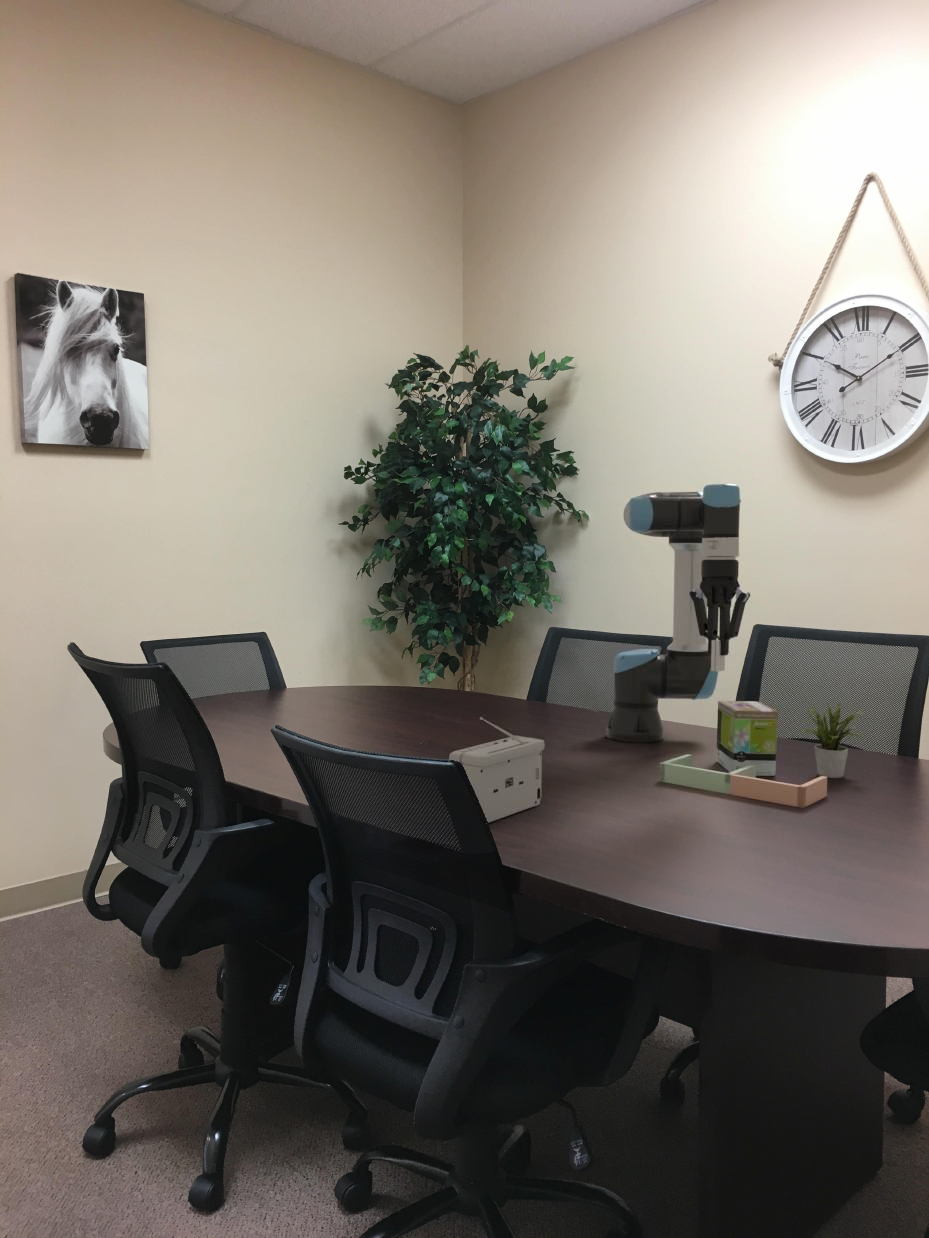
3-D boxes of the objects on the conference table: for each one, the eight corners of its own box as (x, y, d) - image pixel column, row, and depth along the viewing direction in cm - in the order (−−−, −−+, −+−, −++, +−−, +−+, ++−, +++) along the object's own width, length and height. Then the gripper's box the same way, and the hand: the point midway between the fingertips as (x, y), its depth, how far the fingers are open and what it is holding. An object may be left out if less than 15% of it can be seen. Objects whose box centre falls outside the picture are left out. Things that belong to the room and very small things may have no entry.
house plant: (874, 785, 201) (877, 709, 200) (806, 782, 204) (808, 707, 202) (860, 770, 215) (863, 699, 214) (796, 767, 218) (798, 697, 216)
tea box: (777, 776, 209) (779, 710, 208) (731, 776, 209) (733, 710, 208) (757, 761, 224) (759, 699, 223) (715, 761, 224) (716, 699, 223)
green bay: (659, 781, 205) (659, 762, 205) (686, 771, 214) (687, 754, 213) (730, 794, 194) (730, 775, 194) (755, 783, 202) (756, 765, 202)
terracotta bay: (730, 794, 194) (730, 775, 194) (755, 783, 202) (756, 765, 202) (803, 807, 184) (803, 787, 183) (826, 796, 192) (827, 776, 192)
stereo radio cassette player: (513, 798, 191) (513, 700, 189) (547, 805, 186) (548, 704, 184) (446, 821, 175) (445, 714, 173) (481, 830, 170) (481, 719, 168)
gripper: (682, 558, 200) (680, 669, 202) (741, 559, 192) (739, 675, 193) (700, 558, 206) (698, 666, 208) (758, 558, 197) (755, 671, 199)
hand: (717, 670), depth 200 cm, fingers closed
